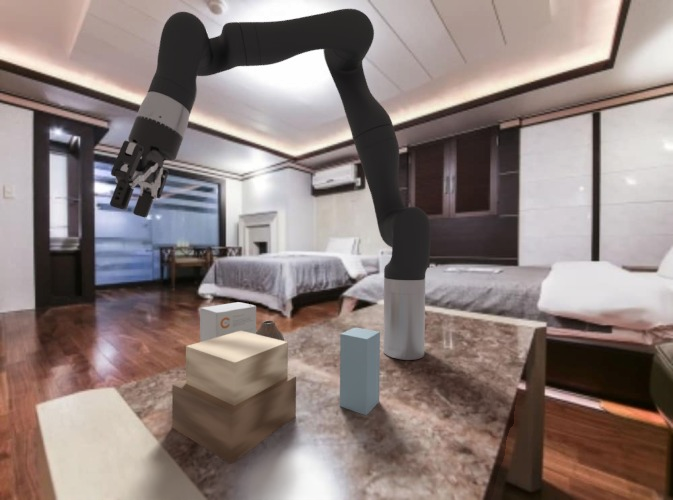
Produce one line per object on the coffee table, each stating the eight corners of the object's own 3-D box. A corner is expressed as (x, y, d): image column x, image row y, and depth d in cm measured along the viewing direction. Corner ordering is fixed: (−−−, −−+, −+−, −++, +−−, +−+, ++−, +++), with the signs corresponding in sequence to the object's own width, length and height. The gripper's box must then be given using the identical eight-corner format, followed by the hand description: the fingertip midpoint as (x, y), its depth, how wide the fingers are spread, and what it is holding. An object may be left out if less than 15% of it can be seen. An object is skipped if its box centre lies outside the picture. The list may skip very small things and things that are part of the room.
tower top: (240, 361, 47) (240, 330, 47) (287, 377, 41) (287, 342, 41) (185, 383, 39) (186, 346, 39) (234, 405, 34) (234, 362, 34)
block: (354, 393, 48) (354, 327, 48) (379, 401, 46) (380, 331, 46) (339, 406, 45) (340, 333, 44) (366, 415, 42) (367, 339, 42)
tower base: (239, 394, 48) (240, 358, 48) (295, 418, 42) (296, 376, 42) (172, 429, 39) (172, 384, 39) (230, 466, 32) (231, 412, 32)
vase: (276, 373, 56) (277, 327, 56) (243, 369, 57) (244, 325, 57) (289, 359, 63) (290, 318, 63) (259, 356, 64) (260, 316, 64)
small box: (238, 365, 60) (239, 301, 60) (256, 374, 56) (257, 305, 55) (198, 378, 53) (199, 307, 53) (215, 389, 49) (216, 312, 49)
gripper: (170, 116, 46) (135, 213, 45) (192, 149, 60) (165, 224, 59) (118, 97, 45) (80, 196, 43) (153, 135, 59) (125, 212, 57)
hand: (129, 212), depth 51 cm, fingers open, 8 cm apart
